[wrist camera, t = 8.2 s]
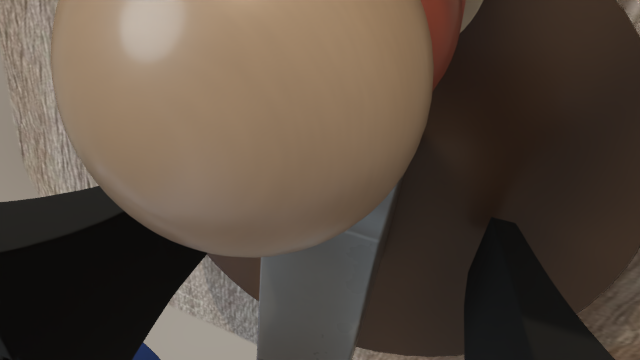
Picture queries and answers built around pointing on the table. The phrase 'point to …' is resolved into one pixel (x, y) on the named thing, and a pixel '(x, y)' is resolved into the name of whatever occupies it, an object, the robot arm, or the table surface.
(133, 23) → the disc
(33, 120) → the table surface
